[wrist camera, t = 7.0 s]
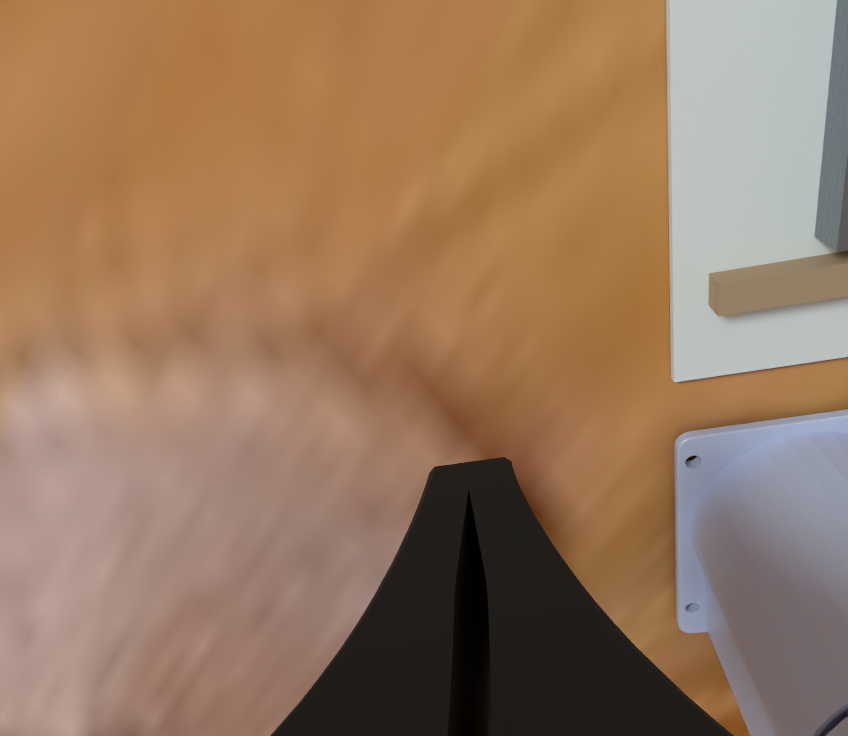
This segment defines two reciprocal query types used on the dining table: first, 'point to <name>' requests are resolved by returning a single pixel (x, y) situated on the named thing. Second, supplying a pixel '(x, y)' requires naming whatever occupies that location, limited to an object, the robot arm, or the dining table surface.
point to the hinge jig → (750, 187)
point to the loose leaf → (835, 144)
